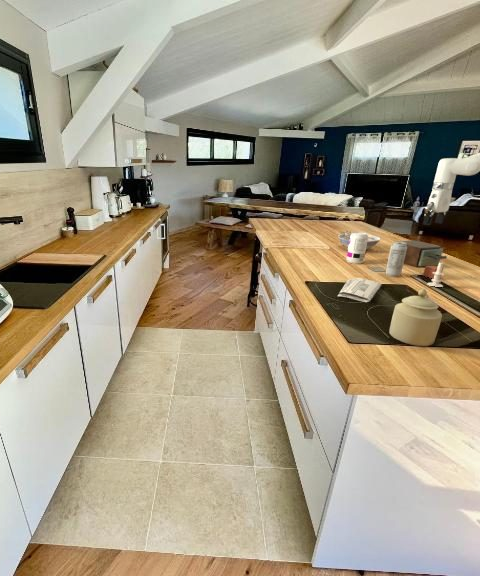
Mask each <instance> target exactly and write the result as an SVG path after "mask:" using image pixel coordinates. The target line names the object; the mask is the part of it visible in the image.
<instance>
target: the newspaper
mask: <svg viewBox="0 0 480 576" xmlns="http://www.w3.org/2000/svg"><path fill="white" fill-rule="evenodd" d="M381 287H382V283H380V282H377V281H374V280H371V279H367V278H362V277H354V278H348V280H347V281H346V283H344V285H343V287H342V288H341V289H340V291H339V293H338V295H337V297H343V298H347V299H348V298H349V299H351V300H355V301H359V302H363V303H370V302H371V301H372V300H373V298H374V297H375V295H376V294H377V292H378V291H379V290H380V288H381Z"/></svg>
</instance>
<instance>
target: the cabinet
mask: <svg viewBox="0 0 480 576" xmlns="http://www.w3.org/2000/svg"><path fill="white" fill-rule="evenodd" d="M399 242H405V243H407V244H406V245H407V251H406V255H405V260H404V264H405V265H407V266H410V267H413V268H414V267H415V268H420V267H423V266H418V265H419V264H418V262H419V258H420V254H421V250H422V249H433V248H437V249H439V248H442V246H441V245H437V244H433V243H428V242H424V241H420V240H415V239H413V240H402V241H401V240H400V241H399ZM404 264H403V265H404ZM428 266H432V265H428Z"/></svg>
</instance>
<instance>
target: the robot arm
mask: <svg viewBox="0 0 480 576" xmlns="http://www.w3.org/2000/svg"><path fill="white" fill-rule="evenodd" d="M479 172H480V152H477V153H475V154H472V155H470V156H467V157H465V158H464V157H463V158H456V157H449V158H448V157H447V158H446V157H445V158H441V159H440V160H439V162H438V165H437V168H436V173H435V176H434V180H433V184H432V188H431V190H432V191H431V193H430V196H429V198H428V202H427V204H426V206H424V218H423V222H422V225H425V226H426V225H427V226H431V225H432V221H433V218H434V217H433V216H434V214H435V213H437V214H436V216H435V219H434V220H435V221H434V223H435V224H440V225H441V224H443V223H444V220H445V218H446V215H447V212H448V211H449V209H450V206H451V205H450V204H451V199H452V193H453V188H454V184H455V181H456V177H457V175H458V176H459V175H460V176H468V177H469V176H470V177H471V176H474V175H476V174H478V173H479Z"/></svg>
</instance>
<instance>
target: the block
mask: <svg viewBox="0 0 480 576" xmlns="http://www.w3.org/2000/svg"><path fill="white" fill-rule="evenodd" d="M437 268H438V265H431V266H424V270H423V272H422V273H423V274H422V277H424V276H425V278H427V277H429V278H428V279H431V278H432V279H434V276H435V274H433V272H436V271H437ZM443 270H444V267H443V268H442V272H441V273H443V272H444V271H443ZM432 279H431V280H432Z"/></svg>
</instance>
